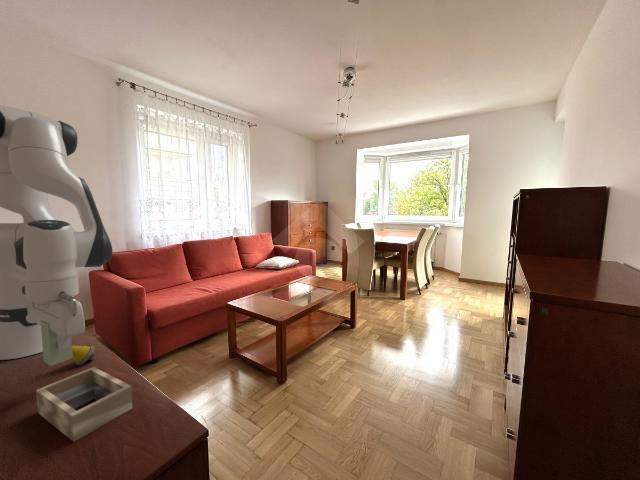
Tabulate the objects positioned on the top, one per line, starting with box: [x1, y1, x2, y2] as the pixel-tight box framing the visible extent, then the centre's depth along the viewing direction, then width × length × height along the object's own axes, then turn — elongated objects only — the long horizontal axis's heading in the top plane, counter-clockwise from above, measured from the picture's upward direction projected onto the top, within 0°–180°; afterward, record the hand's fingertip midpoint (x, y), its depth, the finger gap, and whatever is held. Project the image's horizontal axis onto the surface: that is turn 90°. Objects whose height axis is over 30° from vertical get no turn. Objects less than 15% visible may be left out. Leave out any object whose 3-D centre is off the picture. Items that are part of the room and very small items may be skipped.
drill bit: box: [71, 344, 97, 366], centre depth 74 cm, size 5×5×10 cm
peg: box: [41, 321, 73, 367], centre depth 64 cm, size 4×4×10 cm
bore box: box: [35, 366, 133, 443], centre depth 57 cm, size 16×10×5 cm, turn 63°
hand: (57, 345), depth 64 cm, fingers closed on peg, 4 cm apart
